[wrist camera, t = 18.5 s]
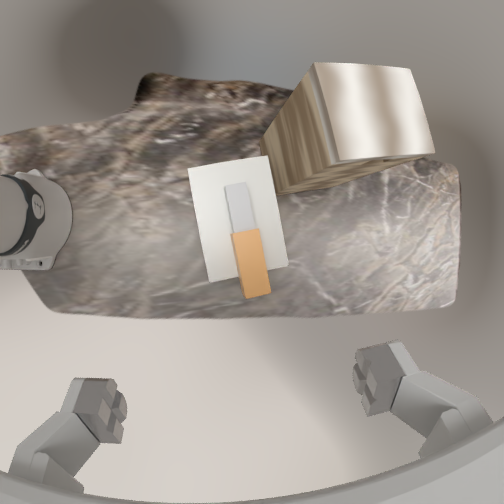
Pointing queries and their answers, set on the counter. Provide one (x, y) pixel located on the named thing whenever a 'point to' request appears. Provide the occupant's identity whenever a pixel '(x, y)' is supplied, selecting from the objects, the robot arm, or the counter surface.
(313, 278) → the counter surface
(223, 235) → the pedestal
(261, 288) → the plug
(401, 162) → the socket tower
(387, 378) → the robot arm
